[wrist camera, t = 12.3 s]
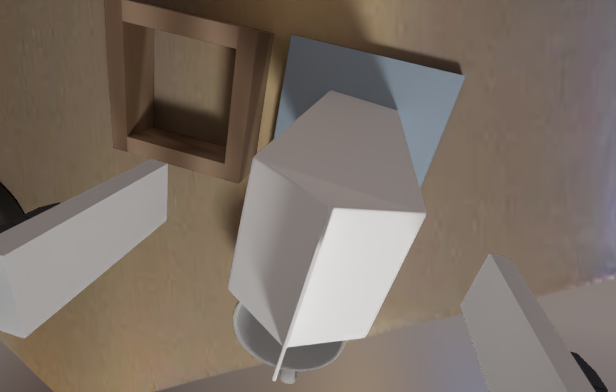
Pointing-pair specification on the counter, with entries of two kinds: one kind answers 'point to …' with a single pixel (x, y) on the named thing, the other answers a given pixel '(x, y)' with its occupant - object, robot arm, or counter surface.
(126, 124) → the frame
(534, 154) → the counter surface
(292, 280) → the milk
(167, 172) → the robot arm
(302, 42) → the board
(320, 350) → the teacup
